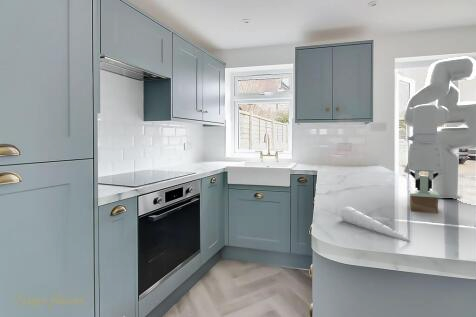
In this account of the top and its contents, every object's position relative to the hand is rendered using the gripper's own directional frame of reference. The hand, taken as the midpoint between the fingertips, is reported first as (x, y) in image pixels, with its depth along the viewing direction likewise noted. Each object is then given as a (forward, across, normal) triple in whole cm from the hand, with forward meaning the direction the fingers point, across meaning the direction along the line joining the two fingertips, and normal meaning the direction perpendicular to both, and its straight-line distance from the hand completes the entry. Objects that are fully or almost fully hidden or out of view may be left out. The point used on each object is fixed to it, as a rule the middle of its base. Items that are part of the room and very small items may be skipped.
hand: (423, 190), depth 111 cm
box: (+8, 0, 0) cm, 8 cm away
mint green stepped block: (+3, 0, 0) cm, 3 cm away
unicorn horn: (+8, -15, -34) cm, 38 cm away
